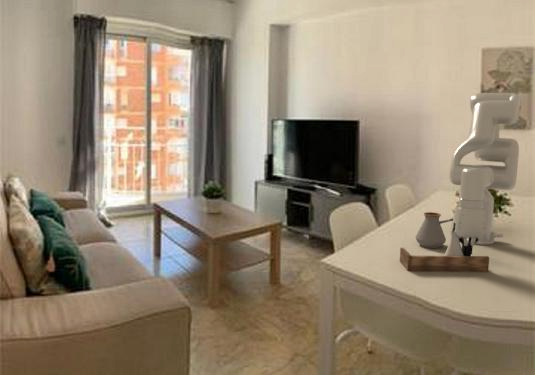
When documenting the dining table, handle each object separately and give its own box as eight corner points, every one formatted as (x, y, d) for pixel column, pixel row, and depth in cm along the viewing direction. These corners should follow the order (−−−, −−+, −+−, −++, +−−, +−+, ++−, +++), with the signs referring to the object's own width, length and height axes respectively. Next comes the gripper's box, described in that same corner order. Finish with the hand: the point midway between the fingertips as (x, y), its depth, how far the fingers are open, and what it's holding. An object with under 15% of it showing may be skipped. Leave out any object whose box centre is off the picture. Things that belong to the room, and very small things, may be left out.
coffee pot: (410, 246, 186) (413, 209, 184) (420, 239, 195) (423, 204, 193) (467, 256, 174) (470, 217, 171) (475, 249, 183) (478, 211, 180)
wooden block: (475, 261, 168) (476, 248, 167) (488, 271, 158) (489, 257, 157) (399, 261, 168) (400, 247, 167) (407, 270, 158) (408, 256, 157)
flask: (464, 257, 166) (465, 229, 164) (466, 263, 159) (467, 235, 157) (442, 255, 168) (443, 228, 166) (443, 262, 161) (444, 234, 159)
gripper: (487, 202, 164) (482, 253, 167) (444, 201, 163) (440, 252, 166) (498, 206, 156) (493, 259, 159) (453, 206, 156) (449, 259, 159)
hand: (466, 256), depth 163 cm, fingers closed
